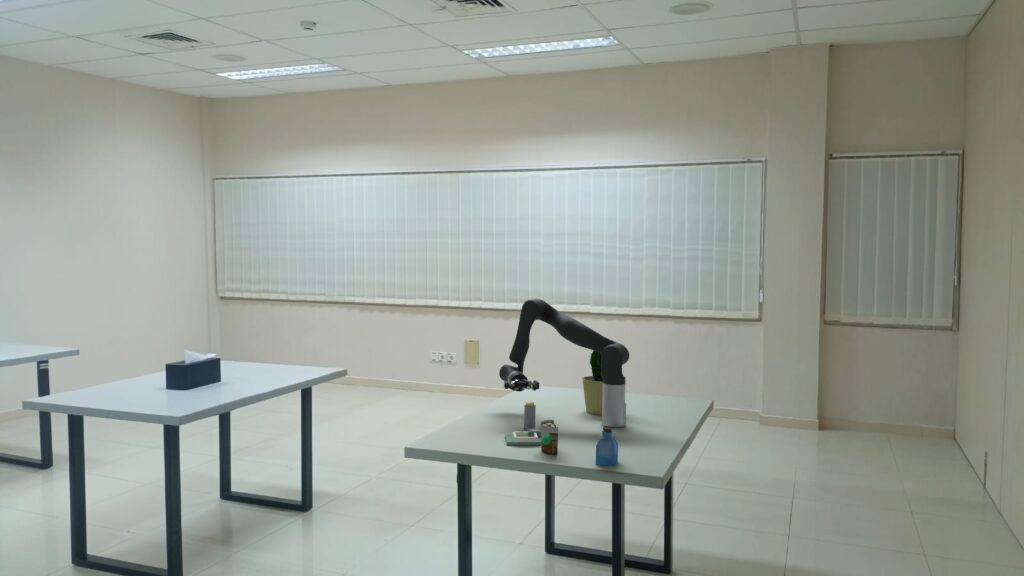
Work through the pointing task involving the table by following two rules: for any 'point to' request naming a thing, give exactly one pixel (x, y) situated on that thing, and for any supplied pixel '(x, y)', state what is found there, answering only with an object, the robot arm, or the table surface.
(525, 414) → the plug
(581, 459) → the table surface
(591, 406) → the potted cactus
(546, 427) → the food container
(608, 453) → the perfume bottle
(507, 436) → the board
